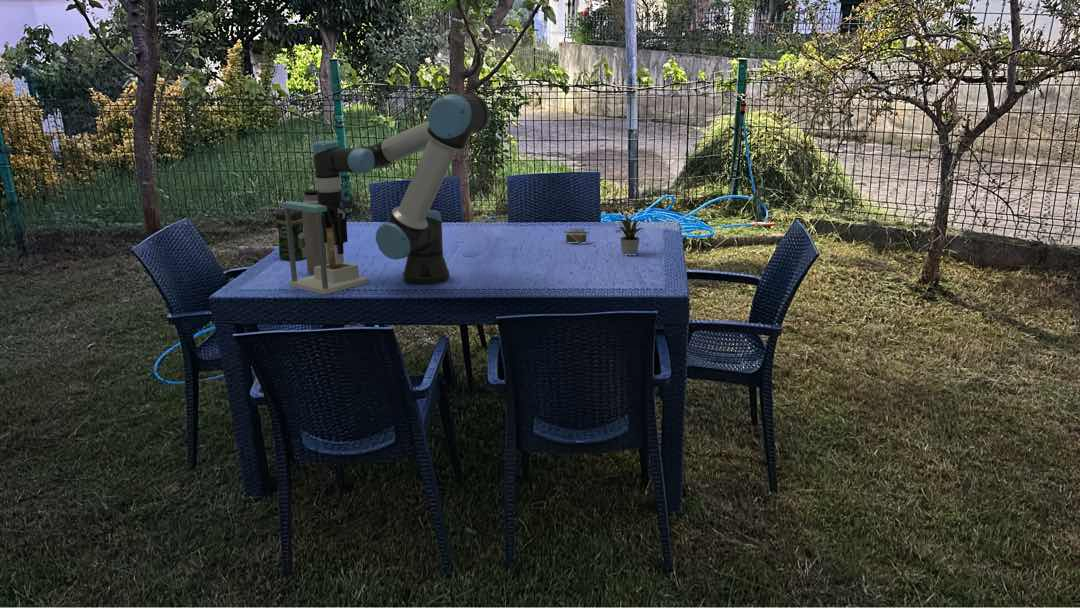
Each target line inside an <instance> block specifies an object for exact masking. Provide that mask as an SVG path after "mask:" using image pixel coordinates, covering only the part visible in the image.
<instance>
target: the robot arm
mask: <svg viewBox="0 0 1080 608" xmlns="http://www.w3.org/2000/svg"><path fill="white" fill-rule="evenodd" d="M427 112H428V113H427V120H426V121H424V122H422V123H420V124H418V125H415V126H413V127H411V128H408V129H406V130H404V131H402V132H399V133H397V134H395V135H393V136H390V137H388V138H386V139H383V140H382V141H381V140H380V141H378V142H377V143H374V144H371V145H365V146H358V147H357V146H356V147H339V146H338V145H339V144H338V141H336V140H317V141H316V140H315V141H314V142H313V144H312V146H313V147H312V149H313V150H312V151H313V152H312V156H313V164H314V171H315V186H316V187H315V188H316V191H318V193H317V198H318V203H319V204H321V205H323V206H327V211H324V212H321V216H322V227H323V238H324V242H325V251H326V258H327V262H328V263H329V255H328V244H327V233H326V228H328V227H332V228H333V232H334V237H335V242H336V243H334V249H335V261H336V264H342V263H344V262H345V260H344V259H345V258H344V253H345V252H344V244H346V243H347V242H348V241H349V239H348V225H347V223H348V222H347V218H348V212H347V211H343V210H342V207H341V205H340V204H341V203H342V202H343V195H342V191H341V189H342V185H341V183H342V182H341V173H348V174H349V173H351V174H353V173H354V174H368V173H370V172H371V171H372V170H375V169H384V168H386V167H389V166H391V165H392V164H393V163H395V162H398V161H400V160H402V159H404V158H407V157H409V156H413V155H414V154H416V153H419V152H421V151H422V155H421V157H420V160H419V162H418V164H417V165H416V168H415V170H414V173H413V175H412V177H411V179H410V182H409V184H408V187H407V188H406V190H405V193H404V196H403V198H402V200H401V202H400V205H399V206H397V207H393V209H392V210H391V212H390V215H389V217H388V219H387V221H386V222H384V223H382V224H381V225H380V226H379V227H378V228H376V229H377V230H376V232H375V242H376V243H375V244H376V245H377V248H378V249H379V251H380V252H381V253H382V255H384V257H386V258H389V260H390V259H391V260H401V259H406V262H405V266H404V271H403V272H402V278H403V279H402V280H403V282H404V283H406V284H411V285H418V286H419V285H421V286H422V285H423V286H424V285H425V286H426V285H435V283H436V284H441V283H443V282H446V281H448V280H450V270H449V268H448V266H447V262H446V260H445V257H444V250H443V249H444V248H443V247H444V246H443V228H442V227H443V225H442V224H443V221H442V214H441V212H439V210H434V209H433V210H432V209H431V207H432V205H433V203H434V201H435V199H436V197H437V194H438V193H439V190H440V188H441V186H442V184H443V182H444V180H445V177H446V176H447V173H448V171H449V168H450V167H451V164H452V162H453V160H454V157H455V156H456V153H457V152H459V151H462V150H464V149H465V147H466V144H467V142H468V141H469V138H470V136H471V135H476V134H479V133H480V132H482V131H483V130H485V128H486V127H487V126H488V124H489V121H490V116H491V114H490V113H491V112H490V108H489V106H488V104H487V102H486V101H485V99H483V98H482V97H480V96H479V95H477V94H474V93H464V94H463V93H462V94H456V93H450V94H447V95H444V96H440V97H438V98H437V99H436V100H434V101H433V102H432V104H431V105H430V106H429V109H428V111H427ZM440 282H441V283H440Z"/></svg>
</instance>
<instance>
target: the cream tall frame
mask: <svg viewBox="0 0 1080 608" xmlns="http://www.w3.org/2000/svg"><path fill="white" fill-rule="evenodd" d="M280 208H282V209H284V210H285V219H286V229H287V238H288V247H289V257H290V260H289V263H290V274H291V280H290V281H288V285H289V287H291V286H292V287H291V288H295V287H296V288H295V289H299V290H303V291H307V292H311V293H316V294H319V295H328V294H332V293H336V292H340V291H343V290H346V289H347V288H348V289H350V287H351V288H354V286H355V287H358V285H359V286H362V285H361V284H363V285H366V284H365V283H367V284H370V283H369V282H370V278H369V277H365V276H361V275H360V273H359V265H358V264H354V263H348V262H345V261H344V263H342V268H339V269H334V270H333V269H330V266H329V264H326V259H325V248H324V238H323V227H322V216H321V212H324V211H327V206H323V205H316V204H309V203H303V202H299V201H293V200H291V201H282V202H280ZM290 209H294V210H301V211H307V212H314V213H315V214H316V224H317V235H318V245H319V256H320V266H316V267H314V275H309V276H306V277H302V278H298V275H297V264H296V260H295V252H294V243H293V233H292V224H291V214H290Z"/></svg>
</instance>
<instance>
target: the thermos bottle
mask: <svg viewBox="0 0 1080 608" xmlns="http://www.w3.org/2000/svg"><path fill="white" fill-rule="evenodd" d="M317 193H318V190H309V191H305V192H304V195H305V196H304V197H305V198H304V199H305V200H304V201H303V202H302V203H309V204H316V205H321V204H319V203H318V198H317ZM302 219H303V232H304V239H305V248H306V258H305V259H306V265H307V274H308V275H309V274H310V275H309V276H314V267H316V266H320V256H319V245H318V235H317V224H316V214H315V213H314V212H307V211H302ZM324 248H325V242H324ZM325 259H326V264H329V263H328V262H327V258H326V251H325Z"/></svg>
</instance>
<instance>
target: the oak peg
mask: <svg viewBox="0 0 1080 608" xmlns="http://www.w3.org/2000/svg"><path fill="white" fill-rule="evenodd" d="M326 233H327V244H328V255H329V266H330V269H333V270H334V269H339V268H342V264H336V261H335V249H334V243H336V242H335V237H334V232H333V228H332V227H328V228H326Z"/></svg>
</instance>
